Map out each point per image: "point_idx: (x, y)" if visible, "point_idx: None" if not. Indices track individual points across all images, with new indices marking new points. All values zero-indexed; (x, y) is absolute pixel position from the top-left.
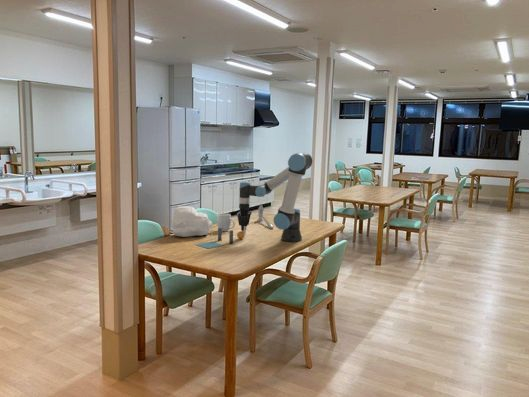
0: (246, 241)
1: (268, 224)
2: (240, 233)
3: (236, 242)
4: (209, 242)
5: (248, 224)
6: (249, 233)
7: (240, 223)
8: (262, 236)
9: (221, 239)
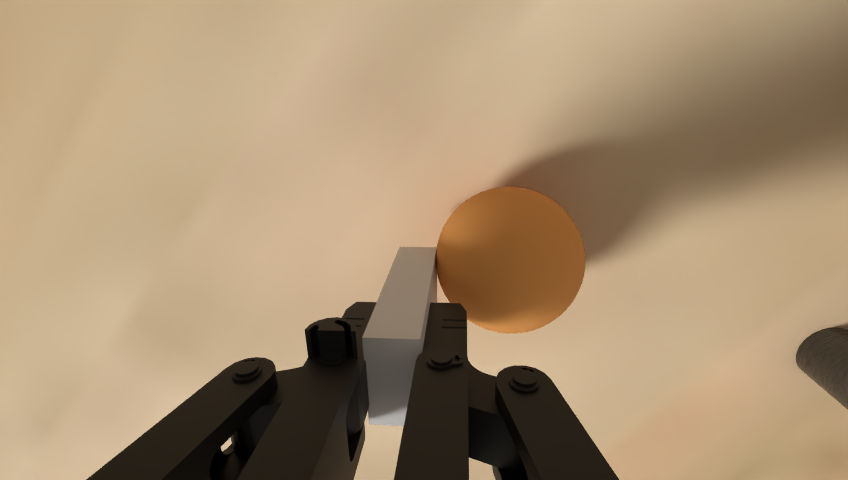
0: (566, 9)
1: None
2: (562, 240)
3: (768, 66)
4: None
5: (237, 362)
6: None
7: (583, 440)
8: (100, 148)
9: (832, 342)
